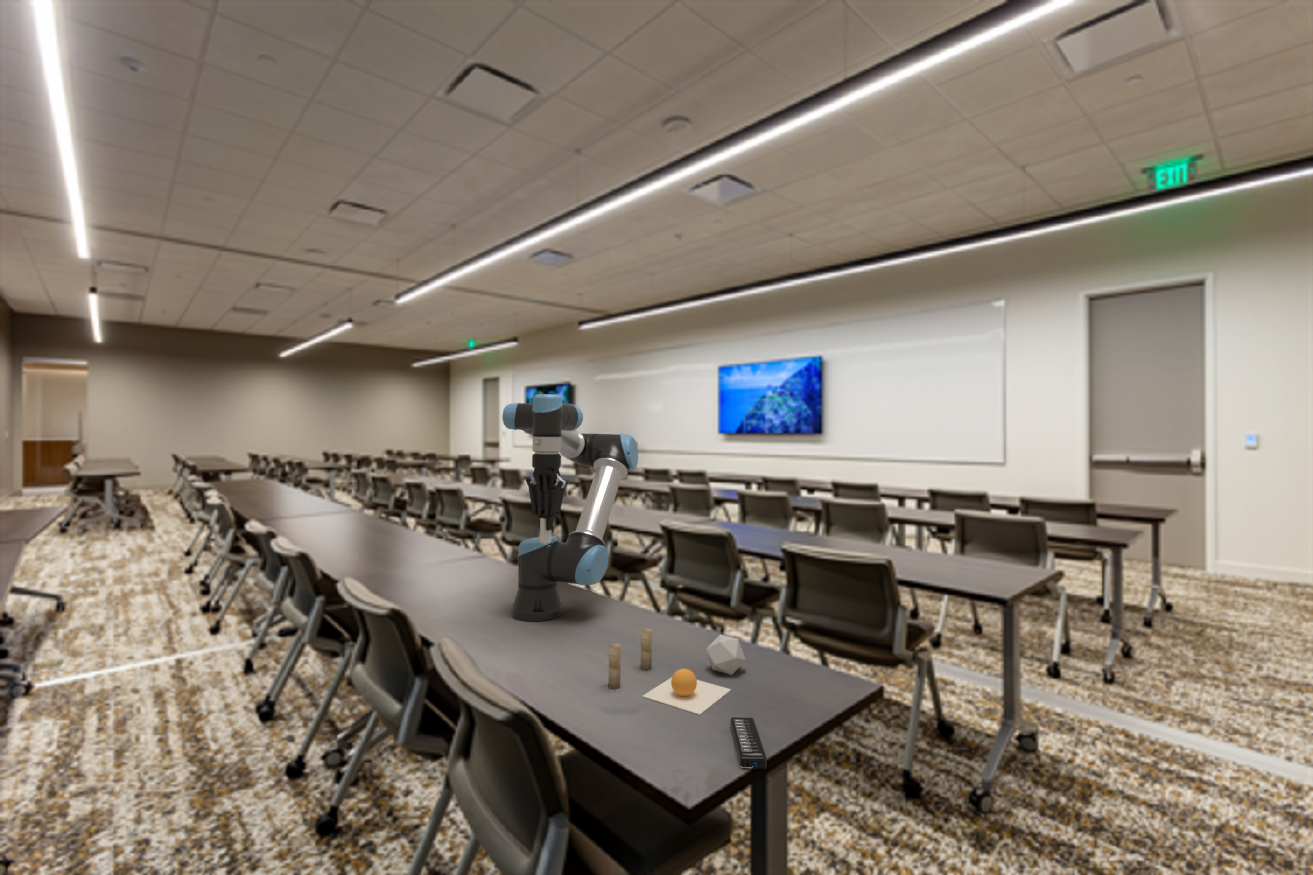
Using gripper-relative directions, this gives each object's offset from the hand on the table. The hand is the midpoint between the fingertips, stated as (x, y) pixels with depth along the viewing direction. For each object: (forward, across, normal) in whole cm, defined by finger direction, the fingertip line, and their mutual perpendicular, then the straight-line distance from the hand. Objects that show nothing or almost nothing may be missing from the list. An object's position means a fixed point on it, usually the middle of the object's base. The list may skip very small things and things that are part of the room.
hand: (545, 542), depth 160 cm
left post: (+26, +32, -12) cm, 43 cm away
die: (+27, +48, +10) cm, 56 cm away
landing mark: (+26, +47, -5) cm, 54 cm away
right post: (+26, +32, +1) cm, 41 cm away
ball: (+24, +47, -7) cm, 53 cm away
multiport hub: (+27, +67, -18) cm, 74 cm away
